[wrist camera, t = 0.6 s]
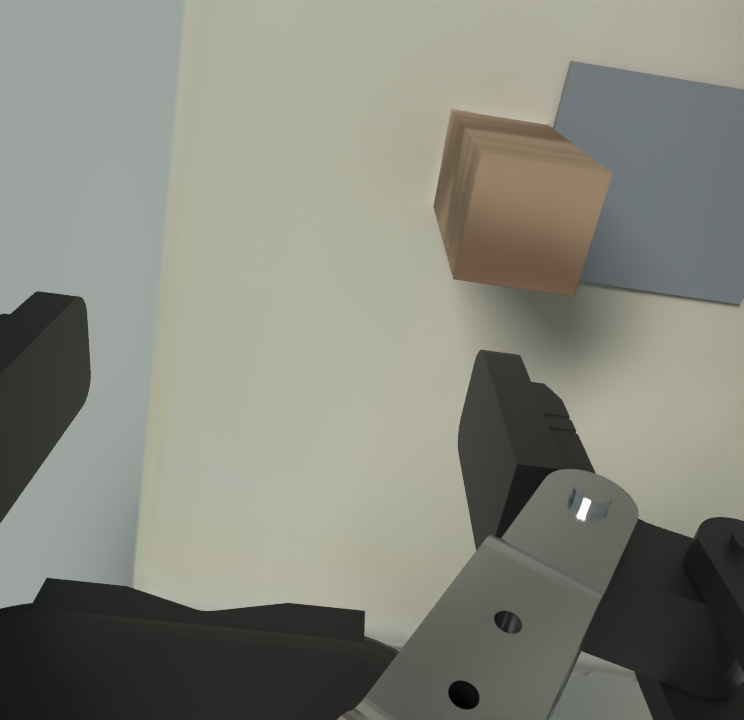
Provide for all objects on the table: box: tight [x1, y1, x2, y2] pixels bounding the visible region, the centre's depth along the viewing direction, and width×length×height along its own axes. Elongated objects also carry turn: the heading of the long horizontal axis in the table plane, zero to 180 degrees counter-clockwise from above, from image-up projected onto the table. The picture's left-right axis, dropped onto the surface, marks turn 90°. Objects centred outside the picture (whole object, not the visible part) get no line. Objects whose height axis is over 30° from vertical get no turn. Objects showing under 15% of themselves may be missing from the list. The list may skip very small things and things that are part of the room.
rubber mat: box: [553, 61, 744, 304], centre depth 33 cm, size 10×12×1 cm
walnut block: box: [433, 108, 612, 296], centre depth 28 cm, size 4×4×10 cm
